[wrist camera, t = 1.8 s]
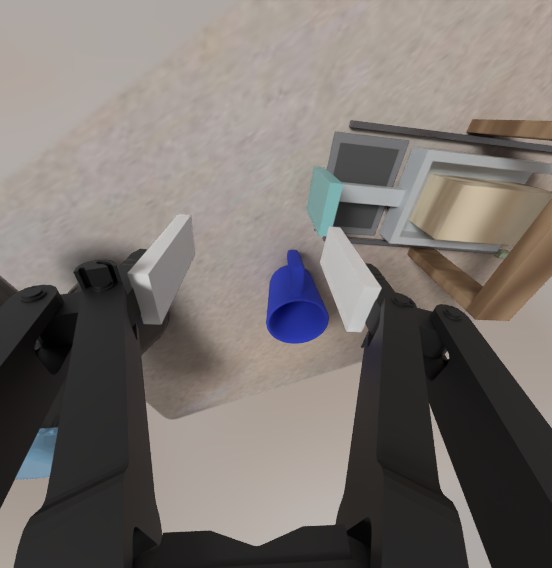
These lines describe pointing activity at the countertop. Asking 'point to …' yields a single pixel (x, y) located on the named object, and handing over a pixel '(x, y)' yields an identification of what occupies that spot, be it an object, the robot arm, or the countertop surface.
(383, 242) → the track
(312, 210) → the sled
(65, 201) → the countertop surface
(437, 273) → the tunnel
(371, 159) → the pad
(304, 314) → the mug
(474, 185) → the bar
